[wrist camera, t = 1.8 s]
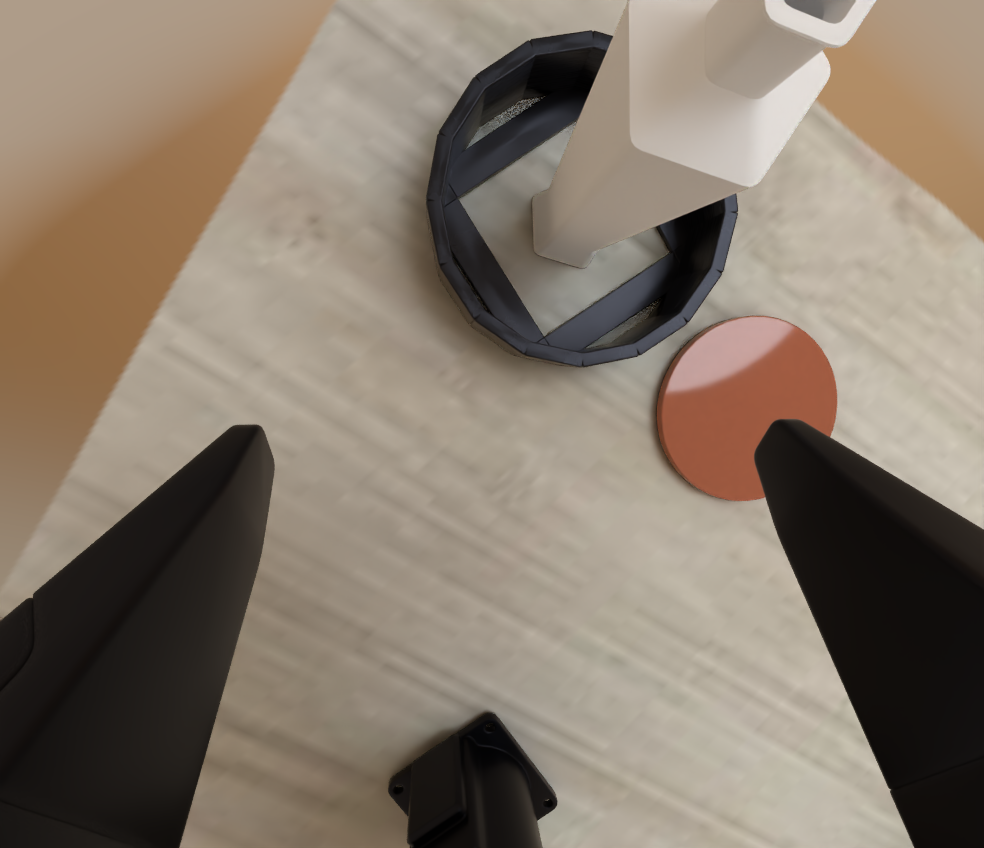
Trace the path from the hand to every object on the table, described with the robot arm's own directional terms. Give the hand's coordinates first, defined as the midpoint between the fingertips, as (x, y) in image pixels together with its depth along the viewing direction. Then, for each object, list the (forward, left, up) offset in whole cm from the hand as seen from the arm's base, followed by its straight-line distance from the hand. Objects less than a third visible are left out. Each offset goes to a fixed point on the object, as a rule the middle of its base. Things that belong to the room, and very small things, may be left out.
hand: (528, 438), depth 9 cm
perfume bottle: (+4, -7, -15) cm, 17 cm away
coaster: (-8, -10, -14) cm, 20 cm away
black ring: (+4, -7, -14) cm, 17 cm away
